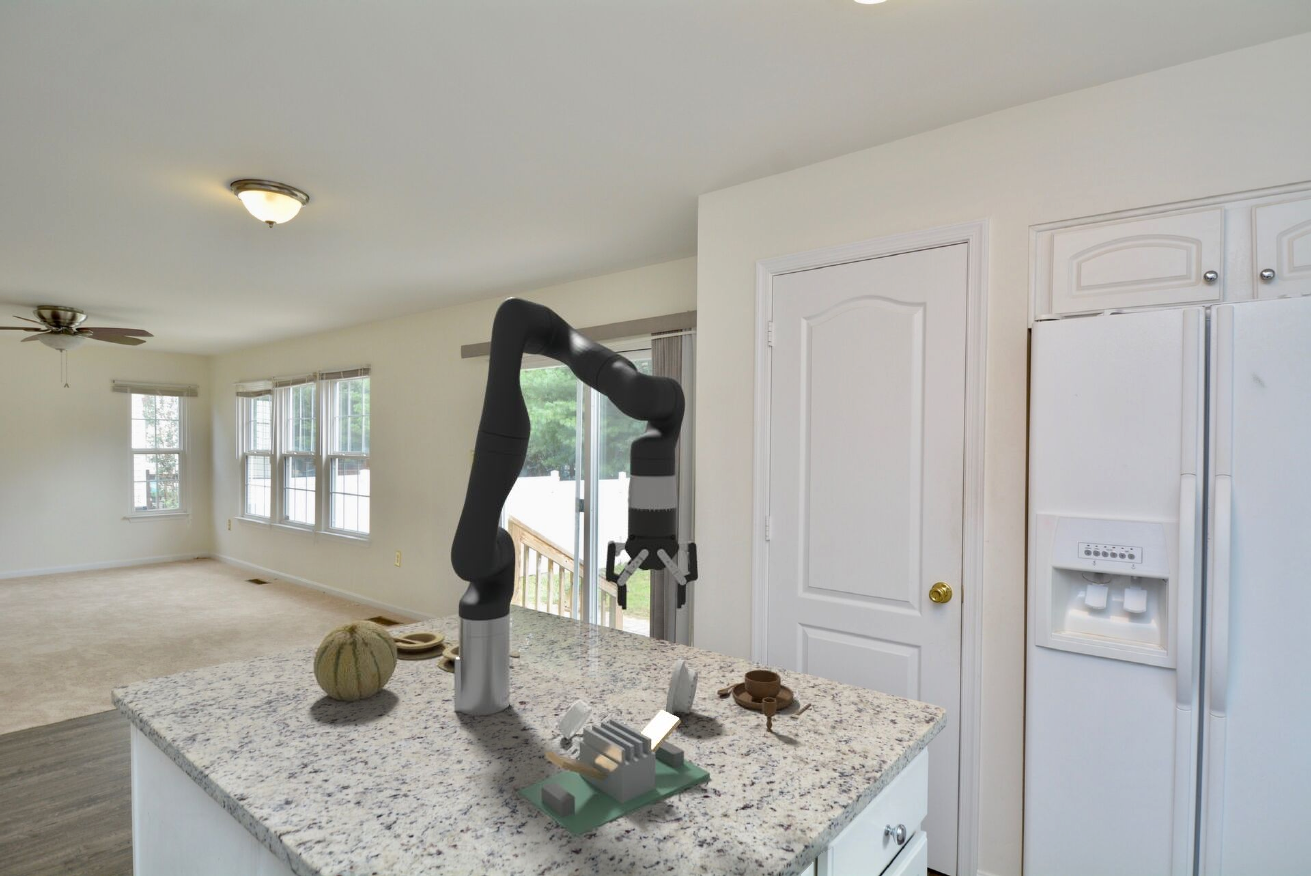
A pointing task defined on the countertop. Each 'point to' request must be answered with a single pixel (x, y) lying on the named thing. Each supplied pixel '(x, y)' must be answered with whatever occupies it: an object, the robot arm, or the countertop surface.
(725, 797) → the countertop surface
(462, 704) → the robot arm
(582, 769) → the left strap
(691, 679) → the mechanical component
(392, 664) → the cantaloupe
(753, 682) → the place setting
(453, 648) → the tableware set
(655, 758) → the board
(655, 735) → the wooden block
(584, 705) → the wide band ring
